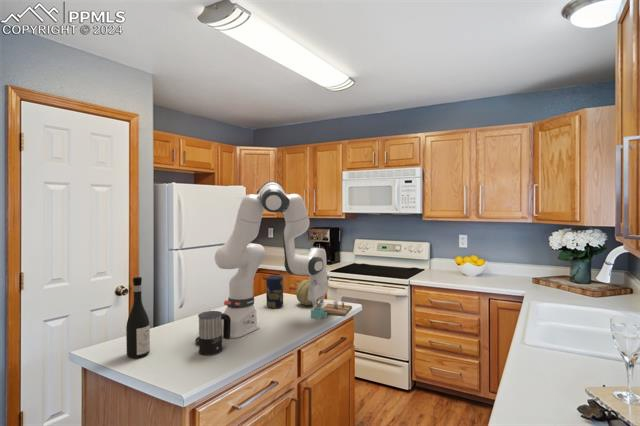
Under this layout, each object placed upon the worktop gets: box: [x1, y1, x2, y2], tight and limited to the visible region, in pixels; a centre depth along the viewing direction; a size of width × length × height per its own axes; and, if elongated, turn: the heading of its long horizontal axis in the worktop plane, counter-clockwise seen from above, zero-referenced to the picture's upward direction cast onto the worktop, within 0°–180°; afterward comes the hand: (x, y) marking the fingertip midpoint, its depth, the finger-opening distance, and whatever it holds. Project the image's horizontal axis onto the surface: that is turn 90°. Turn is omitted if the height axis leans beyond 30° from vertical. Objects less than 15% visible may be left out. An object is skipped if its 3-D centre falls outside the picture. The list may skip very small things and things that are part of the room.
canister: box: [265, 274, 284, 309], centre depth 210 cm, size 10×10×18 cm
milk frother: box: [194, 310, 231, 356], centre depth 150 cm, size 14×16×15 cm
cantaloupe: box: [295, 278, 320, 307], centre depth 213 cm, size 15×15×15 cm
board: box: [322, 300, 353, 317], centre depth 201 cm, size 16×14×5 cm
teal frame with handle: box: [310, 306, 328, 319], centre depth 191 cm, size 8×5×4 cm
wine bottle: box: [125, 276, 151, 359], centre depth 143 cm, size 8×8×30 cm
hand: (318, 305), depth 190 cm, fingers open, 8 cm apart
